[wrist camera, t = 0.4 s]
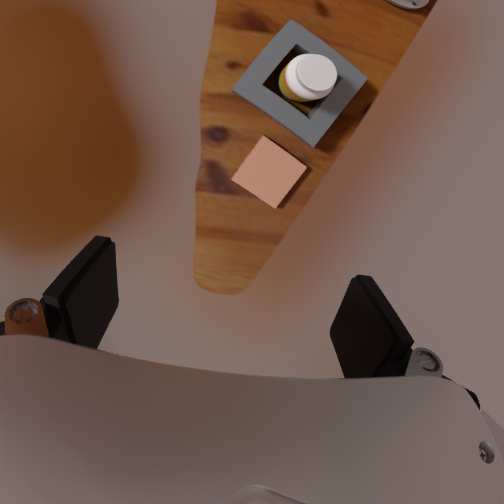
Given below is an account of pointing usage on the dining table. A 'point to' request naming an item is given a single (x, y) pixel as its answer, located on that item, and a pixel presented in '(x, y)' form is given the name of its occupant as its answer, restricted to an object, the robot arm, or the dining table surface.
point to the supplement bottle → (307, 78)
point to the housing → (278, 108)
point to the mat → (268, 172)
